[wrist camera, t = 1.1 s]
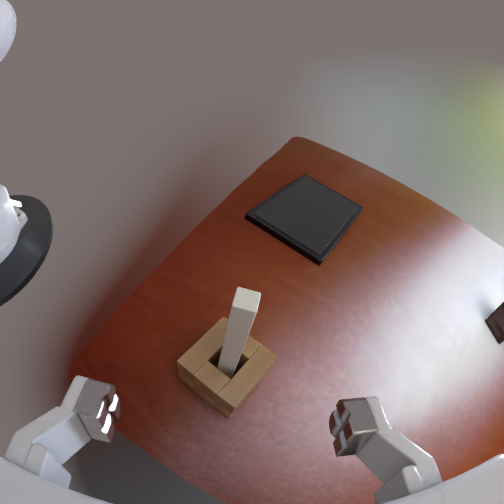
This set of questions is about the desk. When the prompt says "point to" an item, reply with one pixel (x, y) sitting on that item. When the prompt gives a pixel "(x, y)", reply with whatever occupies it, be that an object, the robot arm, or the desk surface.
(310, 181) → the plate
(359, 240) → the desk surface
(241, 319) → the white square bar
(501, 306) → the box
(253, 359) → the pen stand
